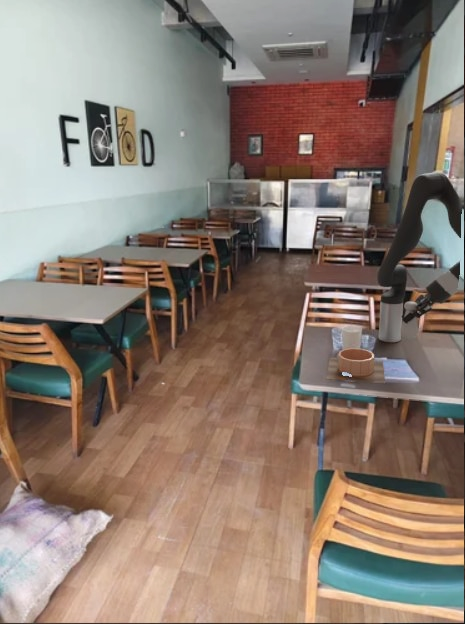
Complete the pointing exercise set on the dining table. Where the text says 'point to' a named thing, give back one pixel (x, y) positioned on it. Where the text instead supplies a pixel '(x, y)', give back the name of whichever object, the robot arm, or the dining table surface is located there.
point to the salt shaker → (409, 323)
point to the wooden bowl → (356, 362)
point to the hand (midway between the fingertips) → (403, 319)
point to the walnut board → (374, 377)
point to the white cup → (351, 337)
